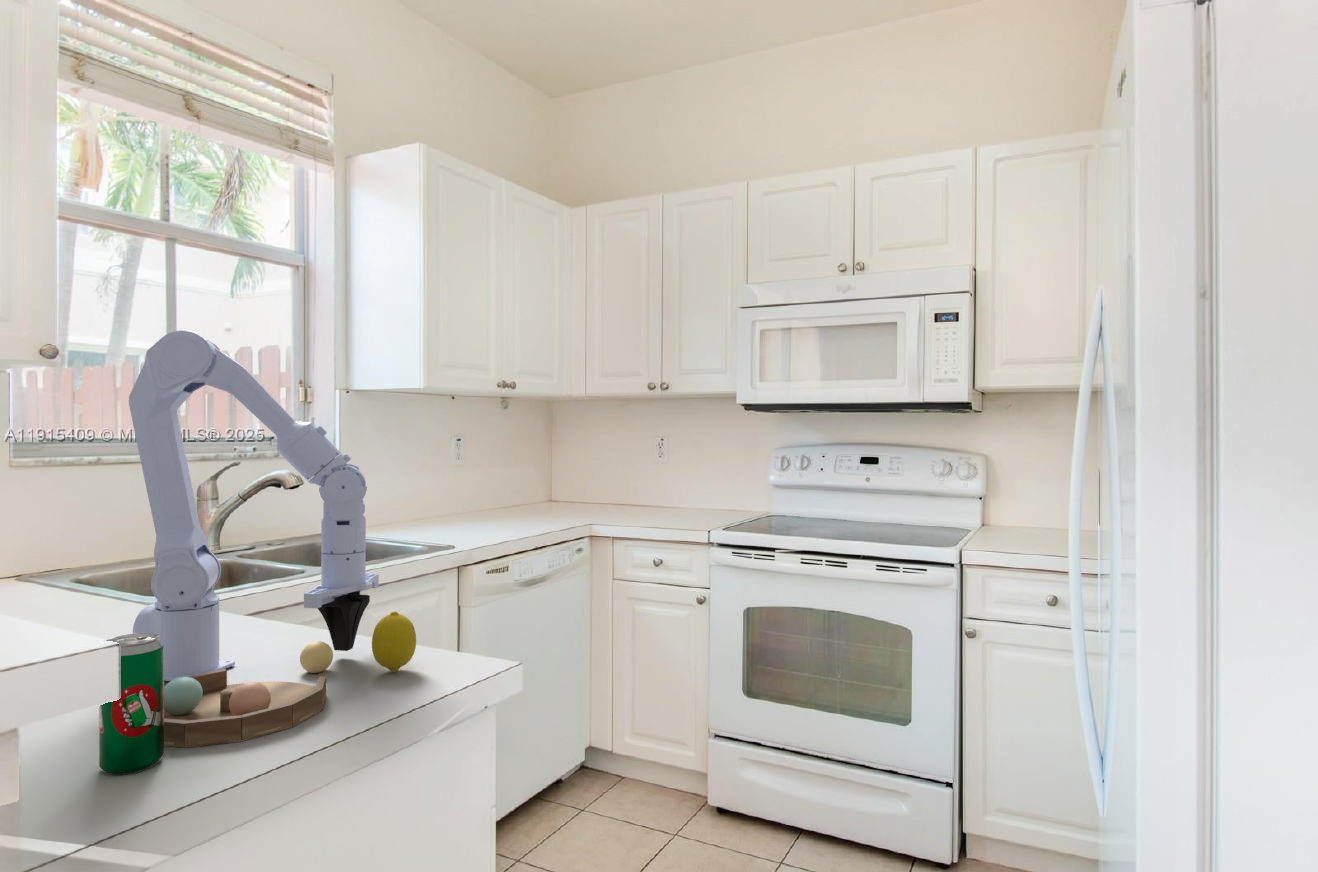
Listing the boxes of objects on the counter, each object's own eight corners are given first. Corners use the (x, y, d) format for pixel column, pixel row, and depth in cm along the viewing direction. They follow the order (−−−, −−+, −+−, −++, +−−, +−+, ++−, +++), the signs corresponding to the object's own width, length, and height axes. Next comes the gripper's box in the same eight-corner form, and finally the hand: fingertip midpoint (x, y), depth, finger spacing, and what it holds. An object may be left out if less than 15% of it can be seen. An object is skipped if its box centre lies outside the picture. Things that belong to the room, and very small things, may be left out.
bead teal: (151, 718, 84) (151, 682, 84) (180, 706, 88) (180, 671, 88) (182, 721, 83) (182, 684, 83) (211, 708, 87) (211, 673, 87)
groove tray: (81, 738, 79) (81, 714, 79) (222, 680, 98) (222, 661, 98) (245, 753, 76) (245, 729, 76) (358, 690, 94) (358, 670, 94)
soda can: (120, 755, 75) (120, 632, 75) (174, 753, 76) (174, 630, 76) (86, 778, 70) (86, 646, 70) (145, 776, 71) (145, 644, 71)
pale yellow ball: (293, 675, 100) (293, 644, 100) (312, 666, 104) (312, 637, 104) (320, 677, 99) (320, 646, 99) (339, 668, 103) (339, 638, 103)
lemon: (402, 680, 98) (402, 617, 98) (363, 677, 99) (363, 615, 99) (424, 667, 104) (424, 607, 104) (386, 664, 105) (386, 605, 105)
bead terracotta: (220, 724, 82) (220, 687, 82) (247, 711, 86) (247, 675, 86) (253, 727, 81) (253, 689, 81) (278, 714, 85) (279, 678, 85)
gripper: (338, 560, 100) (338, 666, 100) (397, 545, 114) (397, 637, 114) (289, 558, 101) (289, 662, 101) (354, 543, 115) (353, 634, 115)
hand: (343, 649), depth 107 cm, fingers closed
